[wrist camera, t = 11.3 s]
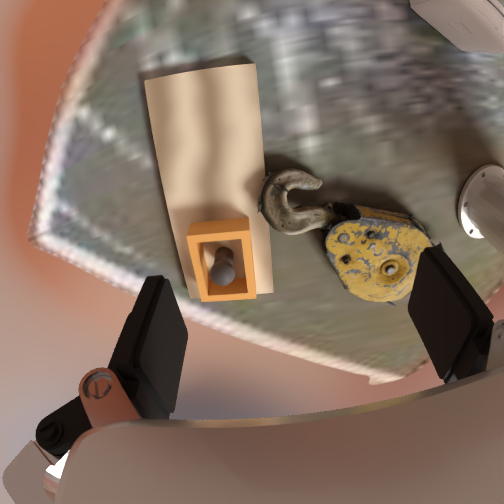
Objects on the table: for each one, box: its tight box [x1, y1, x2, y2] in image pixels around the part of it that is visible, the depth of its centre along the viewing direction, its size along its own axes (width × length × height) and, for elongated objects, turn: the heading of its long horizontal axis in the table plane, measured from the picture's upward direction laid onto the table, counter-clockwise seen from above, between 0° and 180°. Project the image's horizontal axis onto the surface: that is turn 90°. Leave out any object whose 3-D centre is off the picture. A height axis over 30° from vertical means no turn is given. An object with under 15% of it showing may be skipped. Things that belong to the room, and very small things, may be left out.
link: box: [186, 218, 256, 302], centre depth 38 cm, size 7×10×3 cm
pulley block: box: [257, 168, 445, 306], centre depth 37 cm, size 14×6×30 cm
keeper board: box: [144, 64, 273, 299], centre depth 33 cm, size 12×30×7 cm, turn 5°
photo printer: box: [410, 0, 504, 54], centre depth 18 cm, size 10×4×12 cm, turn 66°
